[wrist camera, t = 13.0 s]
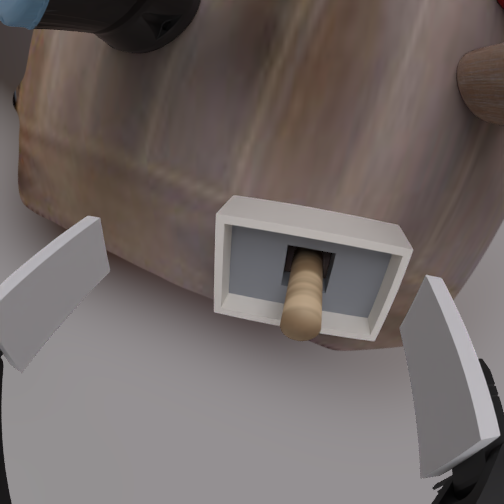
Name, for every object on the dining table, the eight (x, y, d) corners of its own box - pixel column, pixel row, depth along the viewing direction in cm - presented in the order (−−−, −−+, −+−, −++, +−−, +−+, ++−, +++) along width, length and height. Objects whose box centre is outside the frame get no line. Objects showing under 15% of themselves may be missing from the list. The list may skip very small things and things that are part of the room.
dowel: (296, 240, 38) (283, 307, 26) (325, 246, 38) (325, 314, 26) (291, 266, 40) (277, 336, 28) (319, 271, 39) (316, 343, 27)
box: (228, 283, 44) (213, 312, 38) (233, 194, 37) (215, 213, 31) (369, 308, 41) (374, 341, 35) (398, 224, 34) (413, 249, 28)
